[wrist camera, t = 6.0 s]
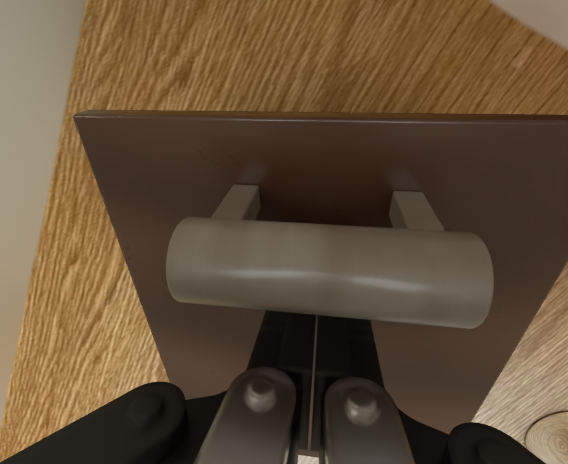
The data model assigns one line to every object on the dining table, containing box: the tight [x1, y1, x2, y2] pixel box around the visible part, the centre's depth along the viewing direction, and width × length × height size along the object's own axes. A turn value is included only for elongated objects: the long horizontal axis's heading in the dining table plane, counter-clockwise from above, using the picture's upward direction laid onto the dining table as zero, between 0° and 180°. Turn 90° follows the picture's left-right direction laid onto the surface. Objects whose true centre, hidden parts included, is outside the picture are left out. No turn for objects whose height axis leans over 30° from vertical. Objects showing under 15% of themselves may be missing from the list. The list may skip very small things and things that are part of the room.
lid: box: [73, 110, 568, 458], centre depth 10 cm, size 16×13×4 cm
